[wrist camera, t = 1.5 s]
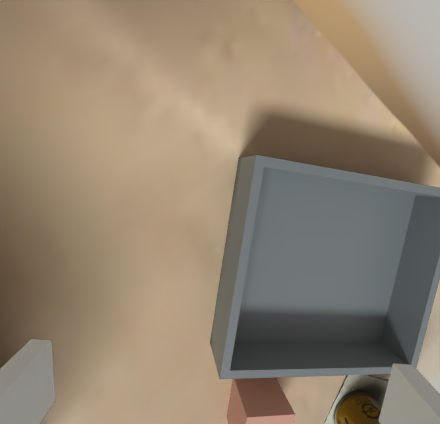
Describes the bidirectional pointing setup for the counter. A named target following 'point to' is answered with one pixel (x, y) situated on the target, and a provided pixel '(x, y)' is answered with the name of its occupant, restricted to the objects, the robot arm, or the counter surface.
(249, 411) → the cube
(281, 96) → the counter surface
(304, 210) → the tote
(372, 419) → the condiment
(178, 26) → the counter surface
